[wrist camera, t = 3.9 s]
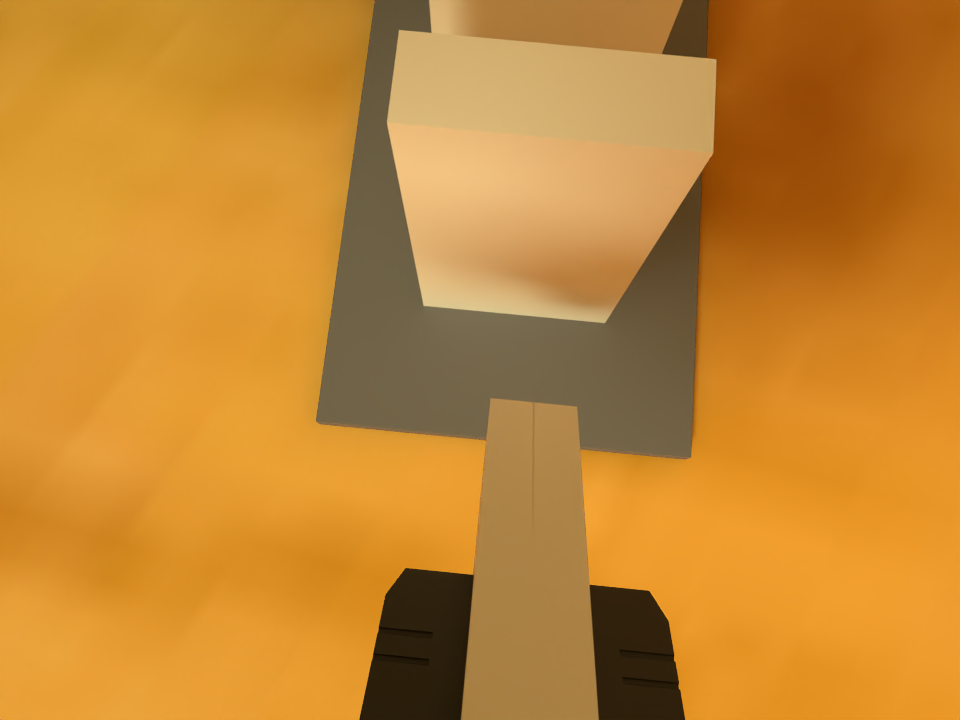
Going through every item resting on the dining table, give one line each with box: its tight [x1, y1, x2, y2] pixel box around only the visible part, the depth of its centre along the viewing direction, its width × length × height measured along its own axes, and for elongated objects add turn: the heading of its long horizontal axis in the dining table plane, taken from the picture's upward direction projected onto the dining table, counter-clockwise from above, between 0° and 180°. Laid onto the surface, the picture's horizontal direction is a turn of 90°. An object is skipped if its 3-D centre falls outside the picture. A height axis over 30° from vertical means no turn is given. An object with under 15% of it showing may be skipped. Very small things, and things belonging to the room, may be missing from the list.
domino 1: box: [429, 0, 683, 54], centre depth 18 cm, size 2×5×10 cm, turn 85°
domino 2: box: [387, 30, 717, 323], centre depth 17 cm, size 2×5×10 cm, turn 85°
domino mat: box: [316, 0, 709, 459], centre depth 24 cm, size 22×10×1 cm, turn 175°
